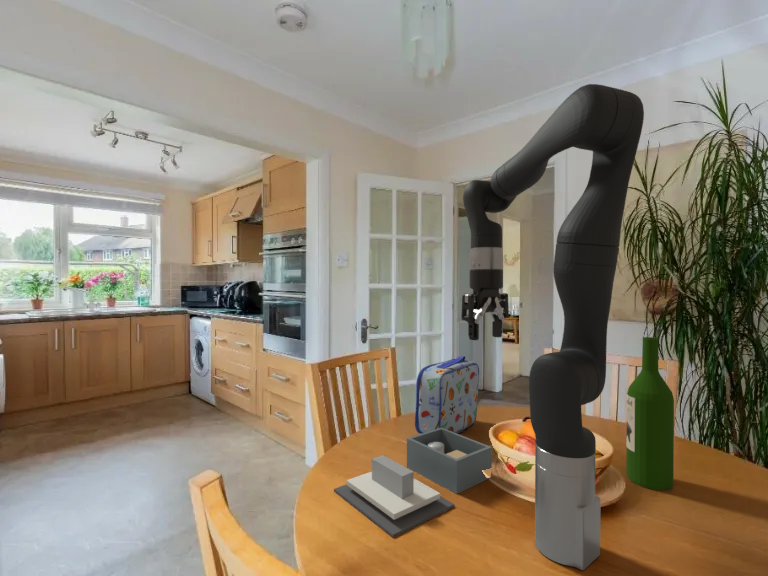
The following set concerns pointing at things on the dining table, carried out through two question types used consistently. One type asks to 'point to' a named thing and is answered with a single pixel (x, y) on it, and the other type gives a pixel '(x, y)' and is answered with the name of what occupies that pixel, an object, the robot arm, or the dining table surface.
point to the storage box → (449, 459)
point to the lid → (392, 488)
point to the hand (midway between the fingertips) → (485, 338)
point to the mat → (385, 521)
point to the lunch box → (447, 396)
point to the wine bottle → (650, 424)
